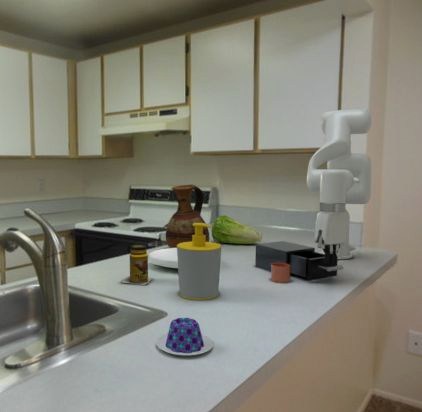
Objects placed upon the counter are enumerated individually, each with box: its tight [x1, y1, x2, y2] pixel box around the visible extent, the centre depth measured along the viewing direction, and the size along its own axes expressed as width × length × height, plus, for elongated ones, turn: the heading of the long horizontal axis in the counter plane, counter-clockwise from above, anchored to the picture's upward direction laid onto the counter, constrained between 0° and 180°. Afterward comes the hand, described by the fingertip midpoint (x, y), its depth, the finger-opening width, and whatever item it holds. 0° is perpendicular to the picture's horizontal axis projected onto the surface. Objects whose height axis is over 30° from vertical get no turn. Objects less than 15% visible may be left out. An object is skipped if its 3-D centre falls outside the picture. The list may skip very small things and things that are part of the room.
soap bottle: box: [177, 222, 222, 301], centre depth 121 cm, size 13×13×21 cm
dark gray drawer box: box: [254, 240, 316, 276], centre depth 150 cm, size 16×14×9 cm
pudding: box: [155, 317, 214, 356], centre depth 86 cm, size 12×12×5 cm
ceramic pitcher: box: [165, 184, 210, 248], centre depth 186 cm, size 20×20×30 cm
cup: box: [270, 263, 291, 284], centre depth 135 cm, size 6×6×5 cm
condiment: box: [120, 244, 152, 286], centre depth 136 cm, size 7×8×12 cm
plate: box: [148, 247, 178, 269], centre depth 157 cm, size 28×6×27 cm
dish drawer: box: [287, 251, 344, 281], centre depth 138 cm, size 19×12×7 cm, turn 25°
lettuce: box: [211, 214, 263, 245], centre depth 201 cm, size 14×24×14 cm
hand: (330, 265), depth 131 cm, fingers closed
